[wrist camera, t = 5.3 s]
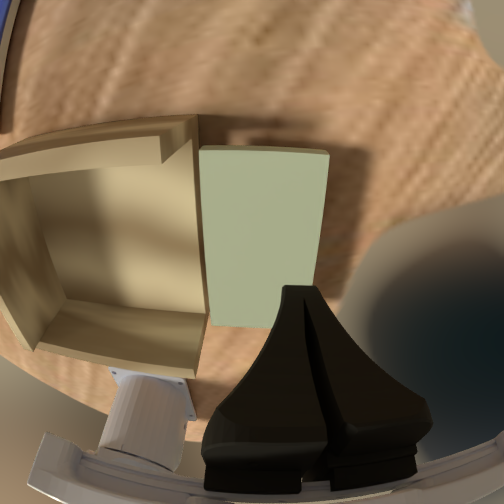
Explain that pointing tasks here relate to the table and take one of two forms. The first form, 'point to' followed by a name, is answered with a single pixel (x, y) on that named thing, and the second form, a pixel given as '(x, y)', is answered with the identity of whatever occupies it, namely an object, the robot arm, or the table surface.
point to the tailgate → (259, 227)
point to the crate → (107, 244)
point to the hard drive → (6, 30)
